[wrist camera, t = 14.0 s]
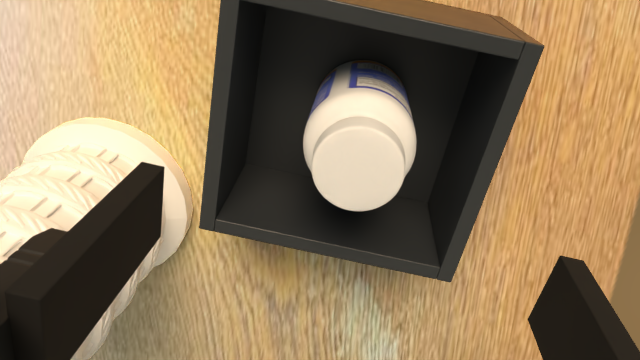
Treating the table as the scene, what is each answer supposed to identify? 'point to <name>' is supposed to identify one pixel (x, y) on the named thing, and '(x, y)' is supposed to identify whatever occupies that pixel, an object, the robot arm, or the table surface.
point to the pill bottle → (360, 136)
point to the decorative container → (90, 196)
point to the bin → (426, 108)
